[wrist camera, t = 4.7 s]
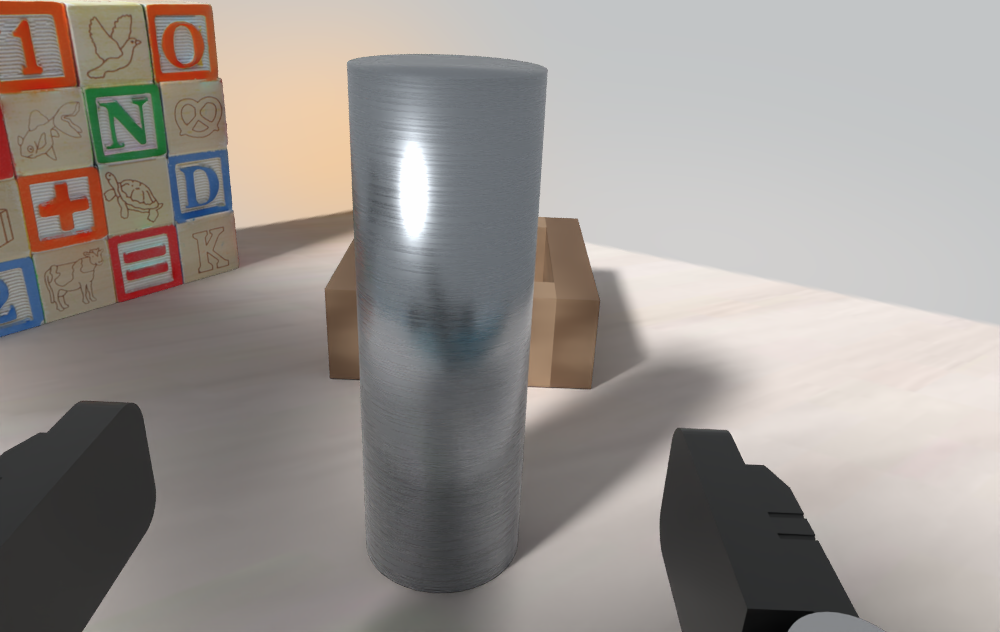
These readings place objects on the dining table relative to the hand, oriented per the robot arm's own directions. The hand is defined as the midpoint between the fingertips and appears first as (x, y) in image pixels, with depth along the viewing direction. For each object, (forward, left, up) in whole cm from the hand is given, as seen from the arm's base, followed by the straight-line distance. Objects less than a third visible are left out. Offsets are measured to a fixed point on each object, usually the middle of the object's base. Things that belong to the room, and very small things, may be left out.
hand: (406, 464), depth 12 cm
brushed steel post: (0, +7, -7) cm, 9 cm away
